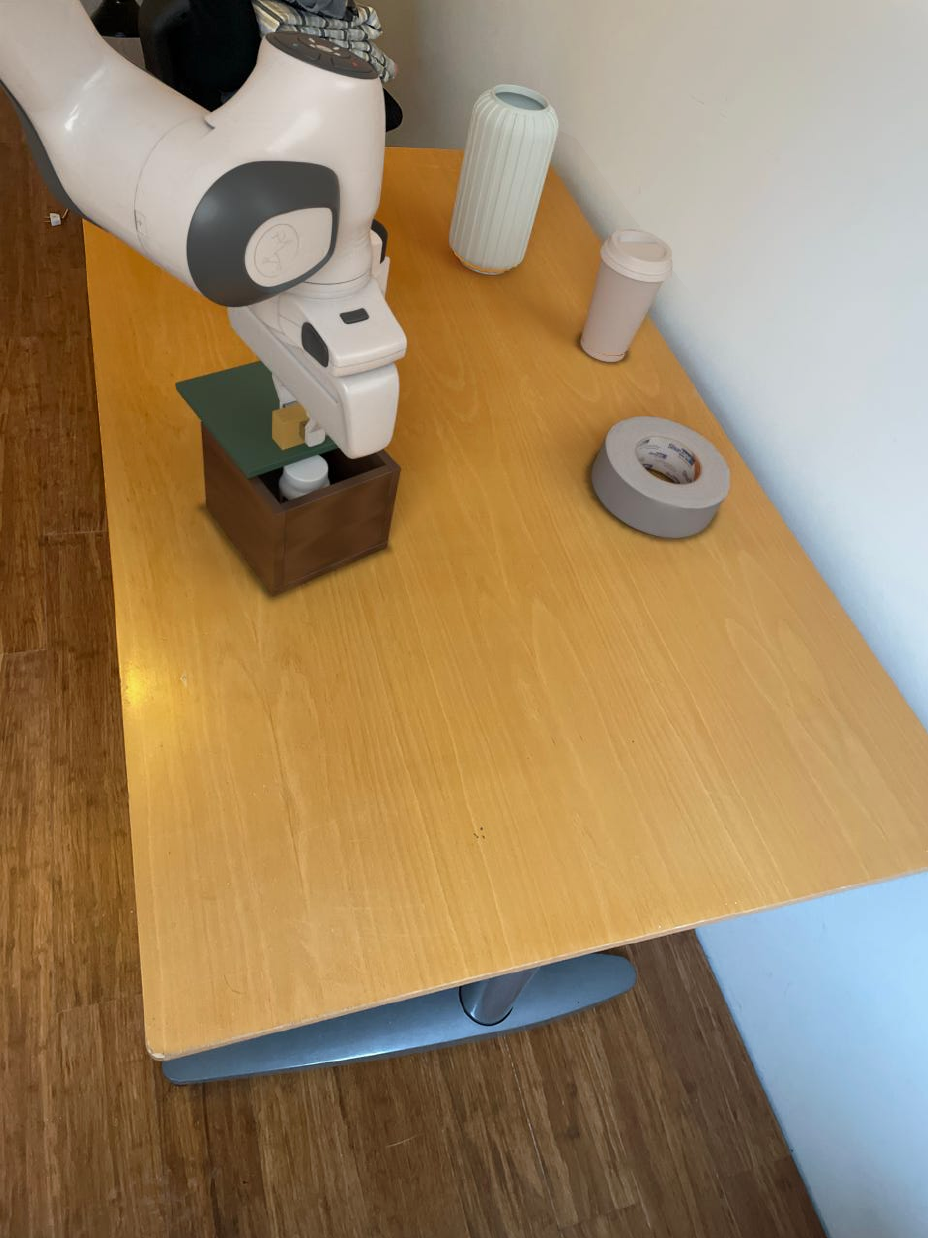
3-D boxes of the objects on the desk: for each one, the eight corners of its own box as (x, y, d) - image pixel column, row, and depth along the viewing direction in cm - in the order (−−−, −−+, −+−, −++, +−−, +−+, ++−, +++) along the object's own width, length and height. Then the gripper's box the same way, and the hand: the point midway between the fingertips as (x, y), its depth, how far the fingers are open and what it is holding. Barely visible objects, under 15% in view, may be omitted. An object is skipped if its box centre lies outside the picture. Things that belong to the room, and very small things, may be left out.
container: (324, 299, 107) (332, 200, 97) (383, 310, 108) (396, 214, 98) (316, 332, 103) (323, 232, 92) (377, 344, 104) (390, 247, 94)
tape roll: (727, 485, 101) (747, 454, 97) (692, 559, 91) (711, 528, 87) (616, 430, 103) (631, 397, 99) (570, 496, 93) (584, 463, 89)
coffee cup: (634, 336, 117) (675, 235, 106) (636, 375, 111) (680, 273, 100) (569, 320, 116) (604, 217, 105) (569, 359, 110) (605, 254, 99)
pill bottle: (334, 537, 81) (342, 475, 75) (291, 552, 79) (294, 489, 72) (312, 505, 83) (317, 442, 77) (269, 519, 81) (270, 455, 74)
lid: (247, 479, 70) (247, 445, 67) (175, 389, 75) (172, 354, 72) (373, 436, 76) (377, 403, 73) (299, 356, 81) (300, 322, 78)
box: (273, 596, 76) (275, 514, 68) (206, 507, 81) (200, 421, 73) (386, 548, 83) (401, 467, 74) (317, 468, 88) (324, 384, 79)
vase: (430, 256, 119) (460, 89, 102) (470, 231, 126) (504, 70, 109) (497, 291, 117) (538, 126, 100) (533, 263, 124) (578, 104, 107)
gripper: (204, 223, 64) (211, 370, 75) (349, 373, 56) (334, 514, 67) (275, 211, 67) (272, 354, 78) (421, 352, 59) (396, 489, 70)
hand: (302, 429), depth 72 cm, fingers closed on lid, 2 cm apart
